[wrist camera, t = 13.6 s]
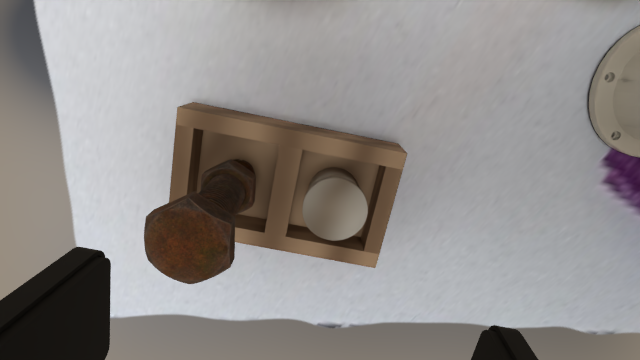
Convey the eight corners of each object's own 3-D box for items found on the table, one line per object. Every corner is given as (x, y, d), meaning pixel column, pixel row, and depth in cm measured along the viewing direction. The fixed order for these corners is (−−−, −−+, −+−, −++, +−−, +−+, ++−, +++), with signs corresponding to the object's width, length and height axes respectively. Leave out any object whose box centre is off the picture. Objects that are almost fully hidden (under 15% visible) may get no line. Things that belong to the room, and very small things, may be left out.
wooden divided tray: (398, 143, 37) (412, 159, 31) (370, 248, 40) (378, 279, 34) (193, 102, 36) (168, 109, 30) (181, 213, 39) (157, 238, 33)
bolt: (279, 170, 37) (250, 240, 22) (251, 209, 38) (207, 299, 24) (227, 135, 36) (163, 185, 21) (201, 177, 37) (123, 251, 23)
